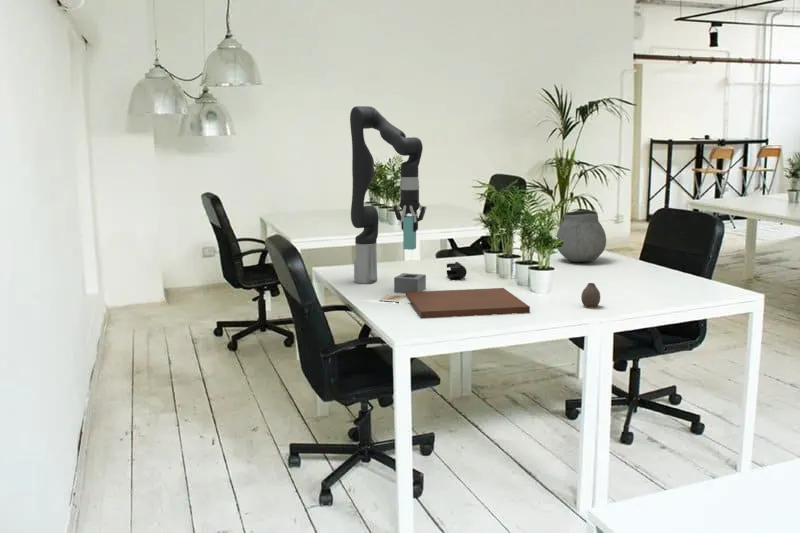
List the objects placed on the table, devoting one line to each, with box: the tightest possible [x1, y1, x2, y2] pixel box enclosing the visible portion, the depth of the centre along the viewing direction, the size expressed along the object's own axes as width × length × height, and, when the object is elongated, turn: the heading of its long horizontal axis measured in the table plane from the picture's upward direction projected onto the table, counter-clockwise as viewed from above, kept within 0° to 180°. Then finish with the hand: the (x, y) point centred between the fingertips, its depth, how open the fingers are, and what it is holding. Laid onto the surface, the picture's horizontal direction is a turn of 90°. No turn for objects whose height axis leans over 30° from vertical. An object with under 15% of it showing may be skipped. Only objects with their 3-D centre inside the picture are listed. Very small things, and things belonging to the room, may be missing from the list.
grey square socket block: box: [393, 272, 427, 294], centre depth 307 cm, size 10×10×7 cm
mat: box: [379, 294, 407, 304], centre depth 295 cm, size 8×8×1 cm
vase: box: [580, 282, 601, 308], centre depth 281 cm, size 7×7×9 cm
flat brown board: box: [405, 287, 531, 319], centre depth 286 cm, size 40×3×33 cm
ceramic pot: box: [555, 210, 607, 263], centre depth 371 cm, size 24×24×25 cm
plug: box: [402, 215, 417, 251], centre depth 303 cm, size 4×4×13 cm
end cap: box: [446, 261, 468, 282], centre depth 336 cm, size 10×7×7 cm
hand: (409, 230), depth 303 cm, fingers closed on plug, 4 cm apart
